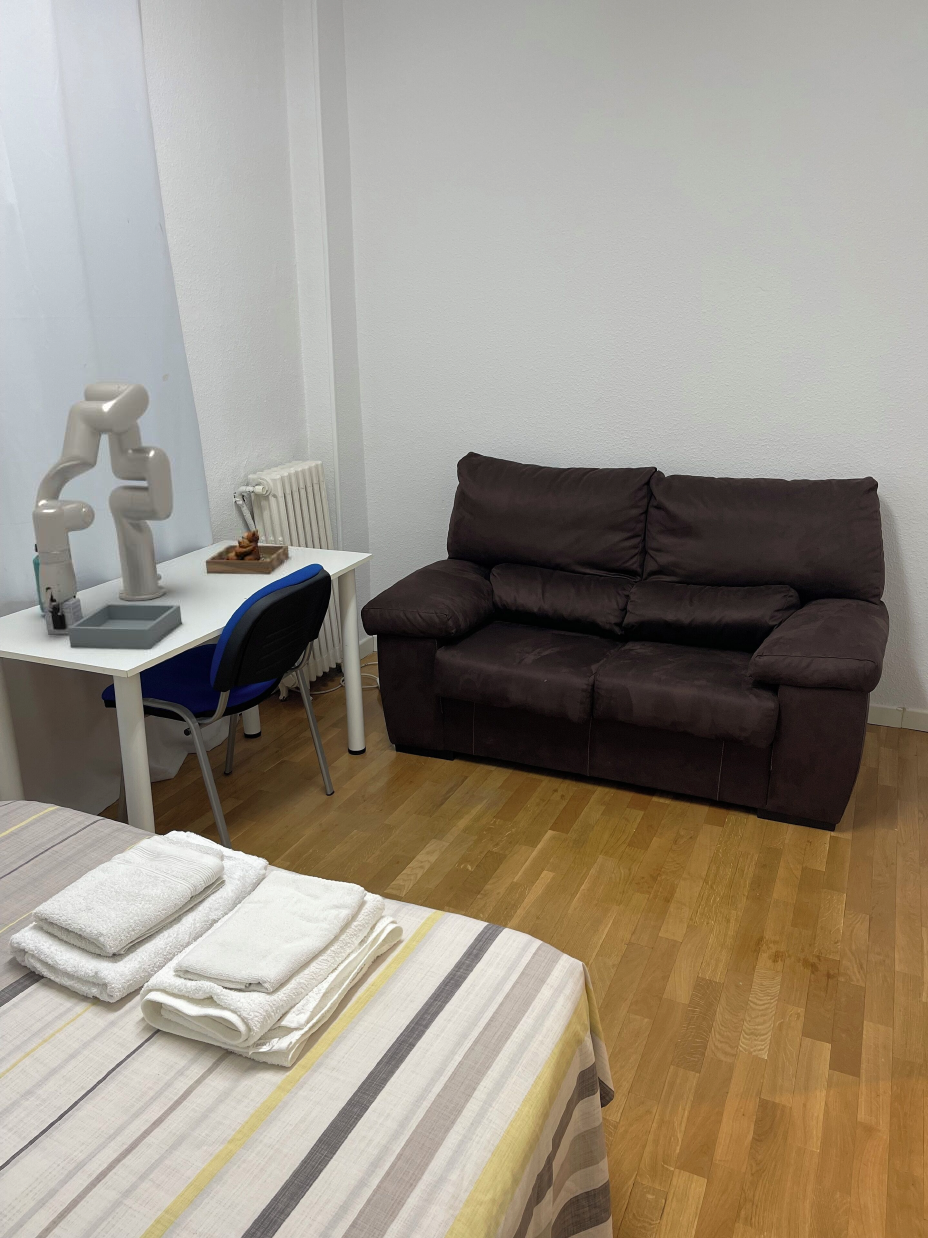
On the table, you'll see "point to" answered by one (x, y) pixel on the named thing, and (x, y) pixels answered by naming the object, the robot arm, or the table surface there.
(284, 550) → the wooden tray
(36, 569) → the beverage bottle
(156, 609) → the bin
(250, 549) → the bear figurine
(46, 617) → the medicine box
